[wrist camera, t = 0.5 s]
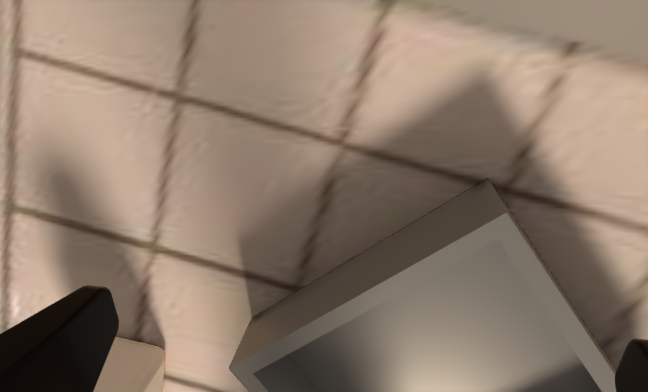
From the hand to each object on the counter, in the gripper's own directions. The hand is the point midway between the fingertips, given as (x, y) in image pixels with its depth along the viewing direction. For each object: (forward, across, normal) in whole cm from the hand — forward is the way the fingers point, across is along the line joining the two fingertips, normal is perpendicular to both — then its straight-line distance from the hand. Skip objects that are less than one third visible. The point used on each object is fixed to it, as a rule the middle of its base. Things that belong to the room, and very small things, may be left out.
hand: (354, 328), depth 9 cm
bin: (+12, -4, +14) cm, 19 cm away
